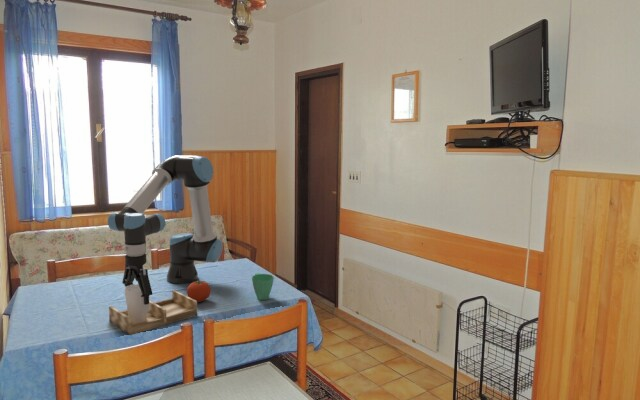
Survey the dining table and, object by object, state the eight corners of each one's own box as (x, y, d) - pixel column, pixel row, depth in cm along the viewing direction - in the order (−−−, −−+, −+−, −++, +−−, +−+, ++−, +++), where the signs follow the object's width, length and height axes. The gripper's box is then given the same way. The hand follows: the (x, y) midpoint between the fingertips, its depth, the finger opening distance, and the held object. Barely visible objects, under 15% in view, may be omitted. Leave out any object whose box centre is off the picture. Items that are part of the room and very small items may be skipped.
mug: (276, 300, 206) (276, 279, 204) (255, 303, 202) (255, 281, 200) (266, 290, 219) (266, 270, 218) (246, 292, 215) (246, 272, 214)
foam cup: (126, 315, 181) (125, 284, 179) (150, 314, 184) (150, 282, 182) (124, 325, 172) (123, 292, 171) (150, 323, 175) (150, 290, 174)
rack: (109, 321, 179) (108, 306, 178) (174, 303, 199) (174, 290, 199) (129, 335, 167) (129, 319, 166) (197, 315, 187) (196, 301, 186)
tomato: (214, 303, 201) (213, 281, 200) (190, 307, 196) (190, 284, 194) (206, 295, 210) (206, 274, 208) (184, 299, 204) (183, 278, 203)
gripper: (112, 249, 180) (114, 300, 183) (141, 262, 163) (143, 318, 166) (130, 246, 186) (132, 296, 189) (160, 258, 169) (162, 313, 172)
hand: (137, 307), depth 177 cm, fingers open, 13 cm apart
